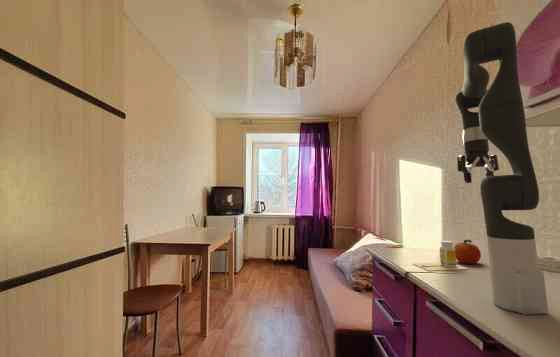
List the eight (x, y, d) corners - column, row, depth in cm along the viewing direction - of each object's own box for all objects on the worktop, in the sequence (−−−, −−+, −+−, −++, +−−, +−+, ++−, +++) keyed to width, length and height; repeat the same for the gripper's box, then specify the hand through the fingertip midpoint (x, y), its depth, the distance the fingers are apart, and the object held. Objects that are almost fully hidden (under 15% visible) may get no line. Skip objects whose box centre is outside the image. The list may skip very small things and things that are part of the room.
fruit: (472, 260, 112) (470, 237, 113) (487, 265, 103) (484, 240, 104) (449, 260, 113) (447, 237, 114) (461, 265, 104) (459, 240, 105)
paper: (468, 269, 98) (468, 268, 98) (428, 271, 97) (428, 270, 97) (448, 262, 109) (448, 261, 109) (412, 264, 108) (412, 263, 108)
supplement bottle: (438, 265, 104) (436, 241, 104) (443, 263, 107) (441, 240, 108) (454, 267, 99) (451, 242, 100) (458, 265, 103) (456, 241, 104)
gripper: (465, 138, 93) (469, 182, 92) (501, 137, 94) (506, 181, 92) (450, 143, 101) (454, 183, 99) (484, 142, 101) (488, 183, 100)
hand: (479, 182), depth 96 cm, fingers open, 8 cm apart
